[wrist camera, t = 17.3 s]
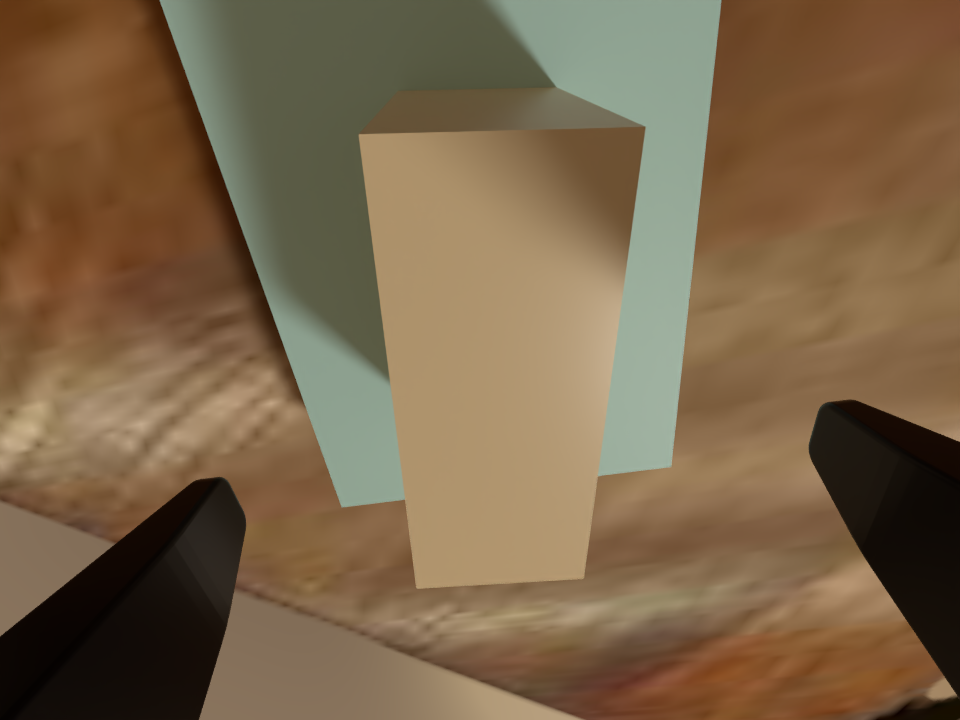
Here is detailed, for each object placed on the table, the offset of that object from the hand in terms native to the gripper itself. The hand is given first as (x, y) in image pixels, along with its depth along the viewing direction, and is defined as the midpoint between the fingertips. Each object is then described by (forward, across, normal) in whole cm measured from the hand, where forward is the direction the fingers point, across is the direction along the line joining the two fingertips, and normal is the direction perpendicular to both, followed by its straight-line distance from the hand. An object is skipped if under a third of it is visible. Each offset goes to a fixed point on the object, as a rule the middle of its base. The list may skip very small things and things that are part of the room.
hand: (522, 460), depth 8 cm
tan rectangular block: (+9, 0, +1) cm, 9 cm away
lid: (+12, 0, 0) cm, 12 cm away
